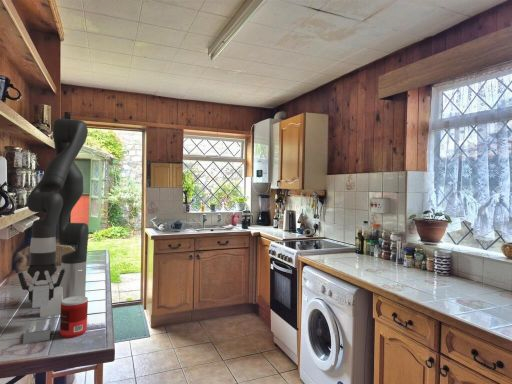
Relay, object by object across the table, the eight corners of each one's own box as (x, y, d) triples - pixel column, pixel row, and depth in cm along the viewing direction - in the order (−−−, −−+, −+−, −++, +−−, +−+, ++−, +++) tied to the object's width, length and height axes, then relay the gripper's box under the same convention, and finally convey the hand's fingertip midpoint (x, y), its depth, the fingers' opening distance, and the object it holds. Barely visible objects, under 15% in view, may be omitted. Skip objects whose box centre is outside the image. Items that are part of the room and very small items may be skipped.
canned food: (90, 328, 115) (92, 296, 115) (79, 338, 107) (80, 303, 107) (67, 328, 114) (69, 295, 114) (54, 338, 106) (56, 303, 106)
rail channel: (26, 333, 109) (26, 323, 109) (50, 329, 112) (51, 320, 112) (23, 344, 101) (23, 334, 101) (49, 340, 105) (49, 330, 105)
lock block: (33, 302, 116) (34, 282, 116) (49, 301, 118) (50, 280, 118) (32, 307, 111) (33, 286, 111) (48, 306, 113) (49, 284, 113)
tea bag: (61, 315, 126) (62, 288, 126) (40, 317, 123) (41, 289, 123) (62, 311, 129) (63, 285, 129) (41, 313, 126) (42, 287, 126)
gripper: (67, 247, 122) (65, 295, 121) (19, 249, 115) (16, 300, 114) (67, 250, 115) (65, 301, 115) (16, 253, 108) (13, 306, 108)
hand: (41, 300), depth 115 cm, fingers closed on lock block, 4 cm apart
